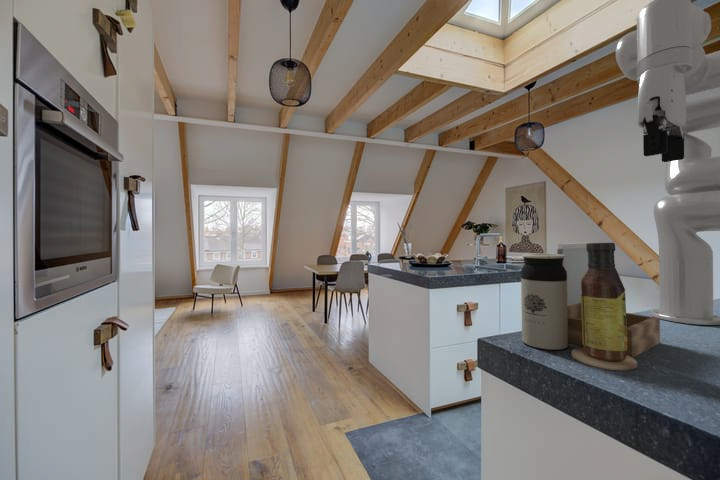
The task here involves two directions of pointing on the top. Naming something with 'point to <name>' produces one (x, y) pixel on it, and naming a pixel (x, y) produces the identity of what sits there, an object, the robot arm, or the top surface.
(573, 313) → the wooden open box
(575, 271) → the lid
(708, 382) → the top surface
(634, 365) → the disc
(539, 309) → the stoneware storage canister
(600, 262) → the sauce bottle
